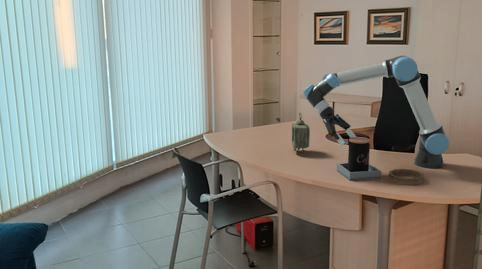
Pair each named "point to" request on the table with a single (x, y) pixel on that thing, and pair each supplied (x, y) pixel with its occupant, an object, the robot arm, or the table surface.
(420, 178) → the ring guard
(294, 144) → the green lantern
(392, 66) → the robot arm
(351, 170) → the coffee jar
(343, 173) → the tray
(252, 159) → the table surface
